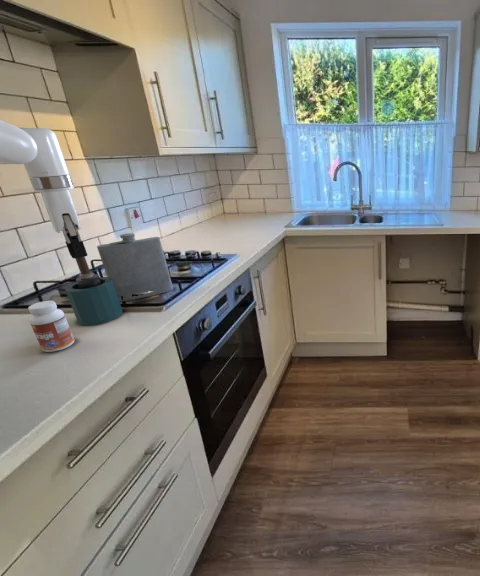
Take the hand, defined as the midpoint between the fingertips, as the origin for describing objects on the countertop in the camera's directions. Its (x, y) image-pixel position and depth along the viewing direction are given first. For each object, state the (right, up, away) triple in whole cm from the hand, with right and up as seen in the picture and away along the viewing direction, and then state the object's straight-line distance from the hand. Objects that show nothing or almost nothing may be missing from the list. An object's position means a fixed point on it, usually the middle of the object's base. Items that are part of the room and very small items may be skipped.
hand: (79, 255), depth 95 cm
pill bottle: (+1, -23, -7) cm, 24 cm away
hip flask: (+4, -11, +21) cm, 24 cm away
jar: (0, -17, +7) cm, 18 cm away
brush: (0, -10, +4) cm, 11 cm away
